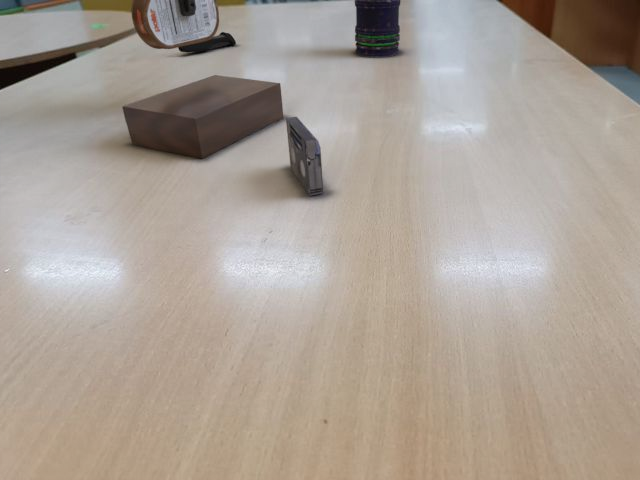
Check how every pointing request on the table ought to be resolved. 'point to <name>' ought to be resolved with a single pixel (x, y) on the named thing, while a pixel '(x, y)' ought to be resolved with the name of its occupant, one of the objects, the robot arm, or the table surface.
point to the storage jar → (377, 28)
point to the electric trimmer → (210, 43)
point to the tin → (174, 22)
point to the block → (203, 115)
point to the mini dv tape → (305, 156)
